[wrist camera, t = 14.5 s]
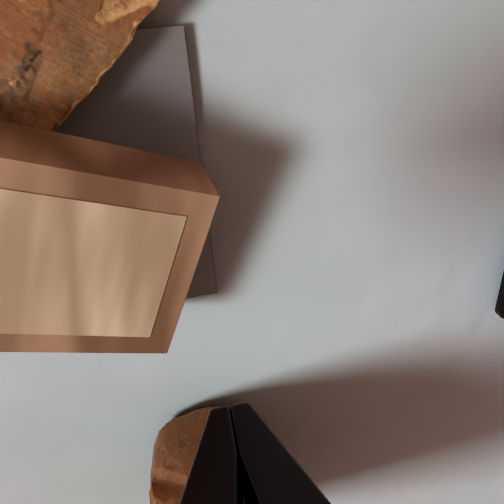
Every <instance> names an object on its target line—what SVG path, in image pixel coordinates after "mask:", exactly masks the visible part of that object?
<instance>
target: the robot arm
mask: <svg viewBox="0 0 504 504" xmlns="http://www.w3.org/2000/svg"><path fill="white" fill-rule="evenodd" d="M495 312H496V314H498V315H499V316H500V317H501V318H504V272H503V277H502V281H501V286H500V290H499V294H498V299H497V303H496V308H495ZM243 497H244V498H243ZM244 503H245V504H331V503H330V502H329V501H328V499H327V498H326V497H325V496H324V494H323V493H322V492H321V491H320V489H319V488H318V487H317V486H316V485H315V483H314V482H313V481H312V480H311V478H310V477H309V476H308V475H307V473H306V472H305V471H304V470H303V468H302V467H301V466H300V465H299V463H298V462H297V461H296V460H295V458H294V457H293V456H292V455H291V454H290V452H289V451H288V450H287V449H286V447H285V446H284V445H283V444H282V442H281V441H280V440H279V439H278V437H277V436H276V435H275V434H274V432H273V431H272V430H271V429H270V427H269V426H268V425H267V424H266V423H265V421H264V420H263V419H262V418H261V416H260V415H259V414H258V413H257V411H256V410H255V409H254V408H253V406H252V405H251V404H250V403H249V402H242V403H237V404H232V405H231V407H229V406H221V407H216V408H212V409H211V410H210V412H209V414H208V417H207V420H206V424H205V427H204V430H203V433H202V436H201V439H200V442H199V445H198V448H197V451H196V454H195V457H194V460H193V463H192V467H191V470H190V473H189V476H188V479H187V482H186V485H185V488H184V491H183V494H182V497H181V500H180V503H179V504H244Z"/></svg>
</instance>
